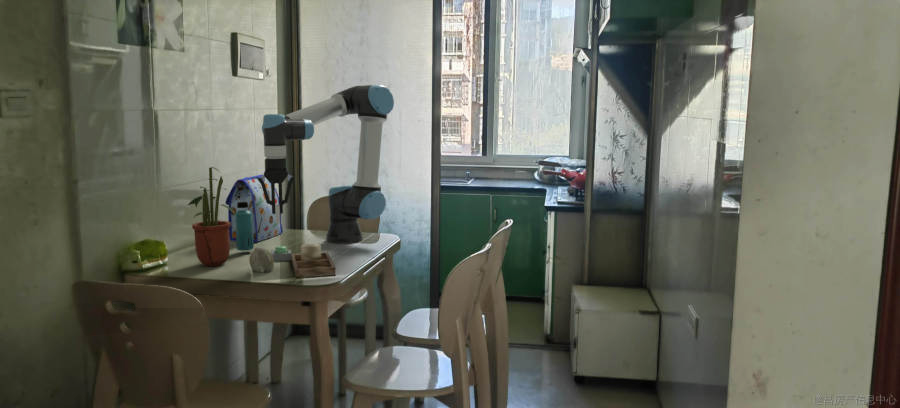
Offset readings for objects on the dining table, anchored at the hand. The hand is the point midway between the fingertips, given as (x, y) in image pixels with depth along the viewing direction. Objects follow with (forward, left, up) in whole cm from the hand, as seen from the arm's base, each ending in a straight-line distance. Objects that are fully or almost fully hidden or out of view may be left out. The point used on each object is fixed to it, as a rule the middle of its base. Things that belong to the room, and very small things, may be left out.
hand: (277, 222), depth 251 cm
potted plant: (+22, -1, -15) cm, 27 cm away
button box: (-1, -1, -15) cm, 15 cm away
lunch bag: (+8, -52, -15) cm, 55 cm away
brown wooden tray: (-11, +15, -15) cm, 23 cm away
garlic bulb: (+6, +15, -15) cm, 22 cm away
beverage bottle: (+12, -21, -15) cm, 29 cm away
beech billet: (-11, +9, -14) cm, 19 cm away
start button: (-1, -1, -13) cm, 13 cm away
